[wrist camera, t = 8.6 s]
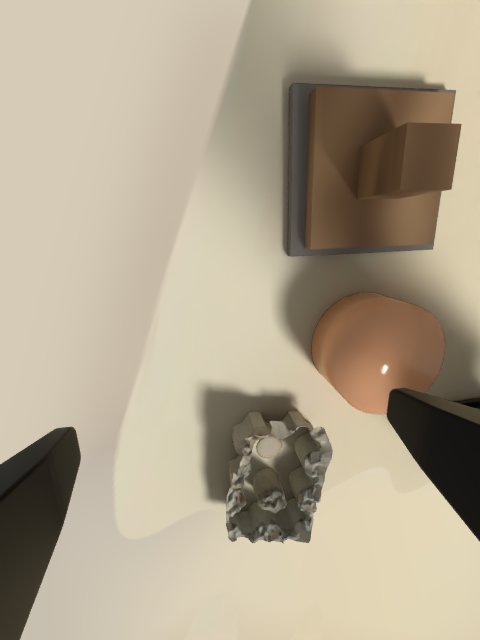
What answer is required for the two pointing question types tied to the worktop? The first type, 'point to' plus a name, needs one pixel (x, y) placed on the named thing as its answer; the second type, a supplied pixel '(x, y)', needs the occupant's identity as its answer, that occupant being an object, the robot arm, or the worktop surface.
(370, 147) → the lid
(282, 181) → the worktop surface
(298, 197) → the mat
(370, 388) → the peach rounded dome
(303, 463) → the egg carton
